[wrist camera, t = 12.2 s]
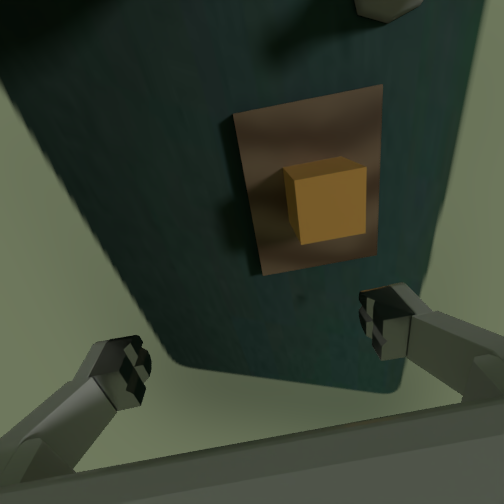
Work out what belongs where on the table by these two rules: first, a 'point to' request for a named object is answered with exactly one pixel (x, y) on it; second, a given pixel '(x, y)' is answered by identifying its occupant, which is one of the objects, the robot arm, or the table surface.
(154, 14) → the table surface
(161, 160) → the table surface
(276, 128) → the walnut post base
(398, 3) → the flask
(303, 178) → the mustard brick
